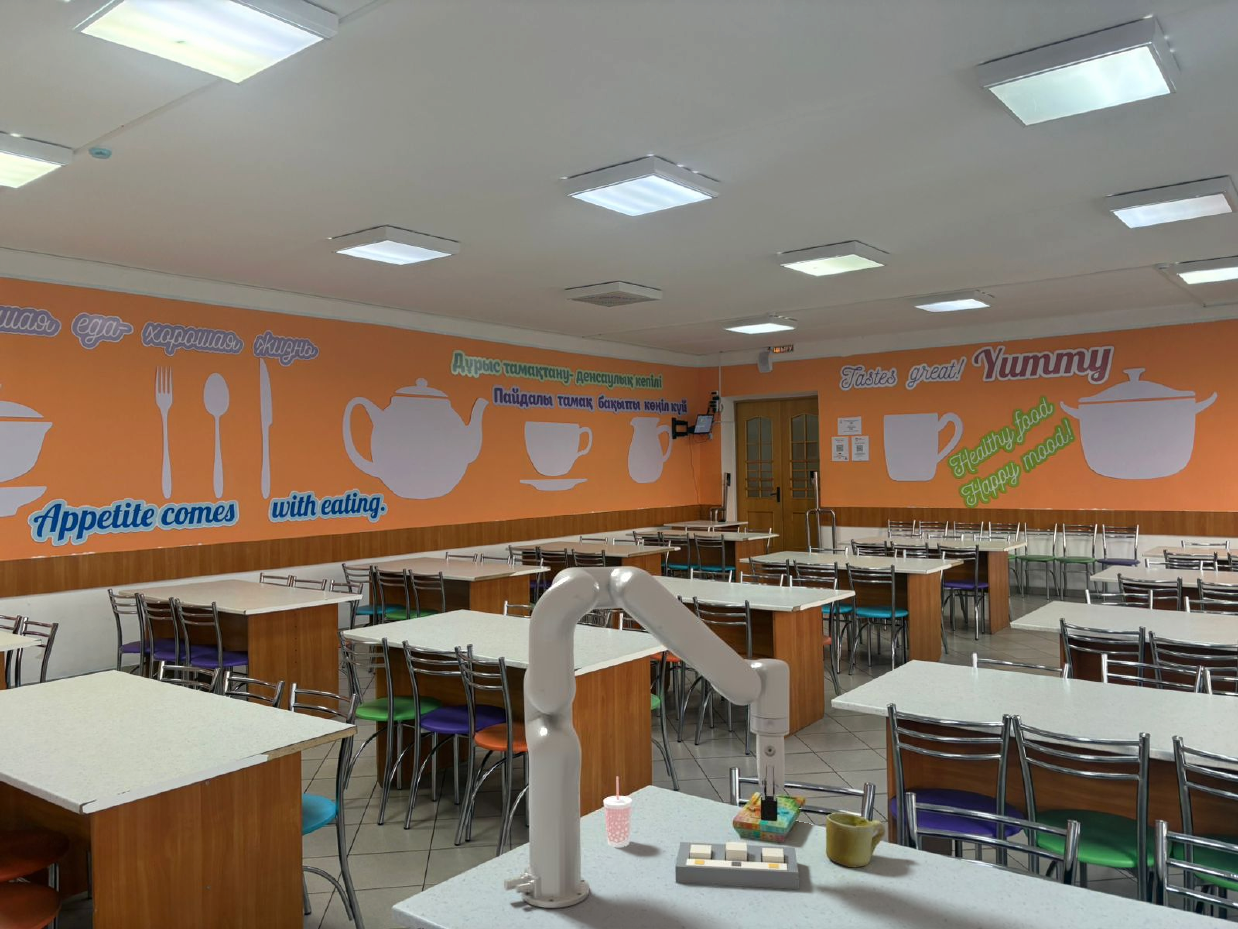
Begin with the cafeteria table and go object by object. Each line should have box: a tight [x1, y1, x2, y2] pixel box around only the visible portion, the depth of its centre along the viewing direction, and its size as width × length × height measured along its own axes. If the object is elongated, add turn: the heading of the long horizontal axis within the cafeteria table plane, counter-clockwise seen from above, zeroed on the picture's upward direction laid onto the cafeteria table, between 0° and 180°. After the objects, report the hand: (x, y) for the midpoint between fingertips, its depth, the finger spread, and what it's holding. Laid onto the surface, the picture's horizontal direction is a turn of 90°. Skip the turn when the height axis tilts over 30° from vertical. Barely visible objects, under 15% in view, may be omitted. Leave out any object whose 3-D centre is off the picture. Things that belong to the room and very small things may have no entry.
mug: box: [825, 812, 886, 868], centre depth 175 cm, size 12×10×10 cm
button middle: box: [725, 841, 748, 862], centre depth 170 cm, size 4×4×3 cm
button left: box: [690, 845, 712, 860], centre depth 171 cm, size 4×4×3 cm
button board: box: [674, 841, 799, 890], centre depth 170 cm, size 12×23×3 cm, turn 81°
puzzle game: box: [732, 791, 806, 843], centre depth 195 cm, size 12×5×20 cm
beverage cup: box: [603, 775, 633, 848], centre depth 185 cm, size 6×6×14 cm
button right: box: [762, 848, 784, 863], centre depth 169 cm, size 4×4×3 cm
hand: (768, 819), depth 169 cm, fingers closed
